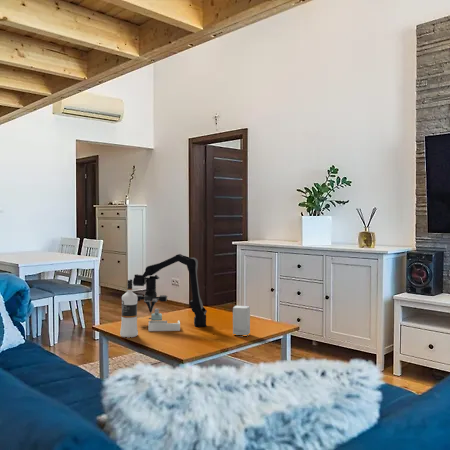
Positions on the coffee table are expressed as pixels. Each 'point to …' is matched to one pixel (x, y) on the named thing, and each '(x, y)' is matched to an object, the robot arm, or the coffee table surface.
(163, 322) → the channel
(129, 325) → the vodka
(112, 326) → the coffee table surface
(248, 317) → the skincare box
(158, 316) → the cover
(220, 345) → the coffee table surface
